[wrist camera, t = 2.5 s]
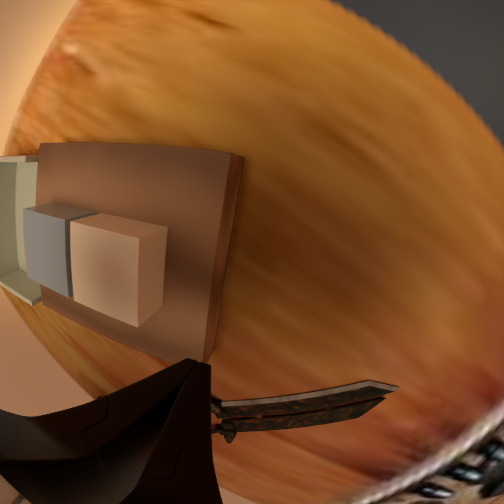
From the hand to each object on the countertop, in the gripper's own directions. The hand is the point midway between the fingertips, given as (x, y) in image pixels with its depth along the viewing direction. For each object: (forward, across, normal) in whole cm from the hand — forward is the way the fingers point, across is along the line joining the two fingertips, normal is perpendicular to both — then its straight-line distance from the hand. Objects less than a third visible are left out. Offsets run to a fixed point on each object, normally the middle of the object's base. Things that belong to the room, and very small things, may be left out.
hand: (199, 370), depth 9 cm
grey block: (+7, +13, 0) cm, 15 cm away
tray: (+10, +22, 0) cm, 25 cm away
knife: (+11, -2, +13) cm, 17 cm away
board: (+10, +10, 0) cm, 14 cm away
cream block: (+7, +7, 0) cm, 10 cm away
